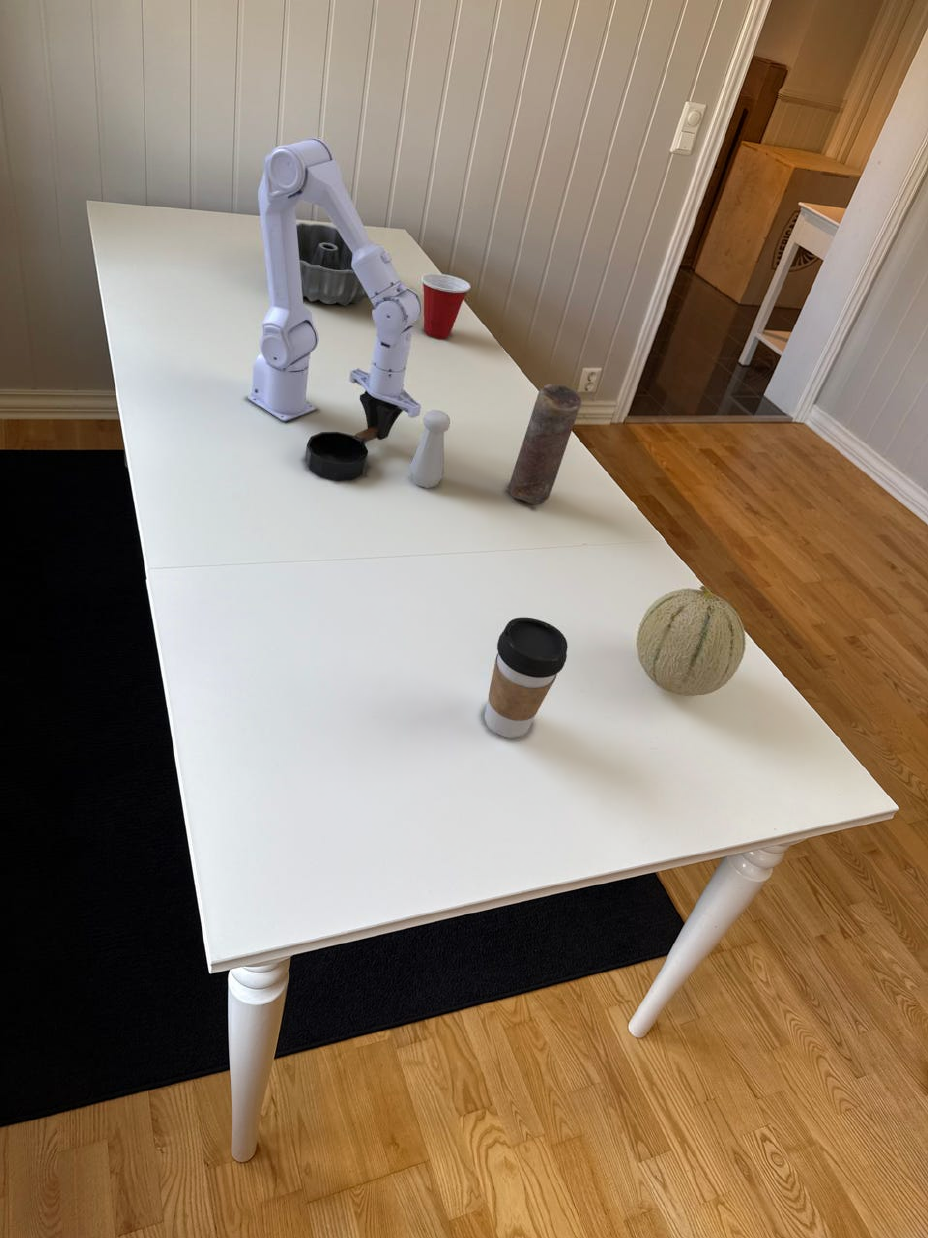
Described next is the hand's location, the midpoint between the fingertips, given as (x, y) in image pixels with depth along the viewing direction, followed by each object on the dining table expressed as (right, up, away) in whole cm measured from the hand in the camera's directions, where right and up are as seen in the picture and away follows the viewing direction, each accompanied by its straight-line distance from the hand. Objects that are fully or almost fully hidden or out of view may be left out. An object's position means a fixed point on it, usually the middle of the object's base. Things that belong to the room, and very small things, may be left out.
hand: (377, 434), depth 154 cm
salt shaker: (+8, -9, -4) cm, 13 cm away
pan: (-4, -4, -3) cm, 7 cm away
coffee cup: (+21, -46, -41) cm, 65 cm away
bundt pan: (-17, +43, +47) cm, 66 cm away
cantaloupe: (+45, -41, -29) cm, 67 cm away
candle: (+26, -11, -1) cm, 29 cm away
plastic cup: (+9, +32, +42) cm, 54 cm away
